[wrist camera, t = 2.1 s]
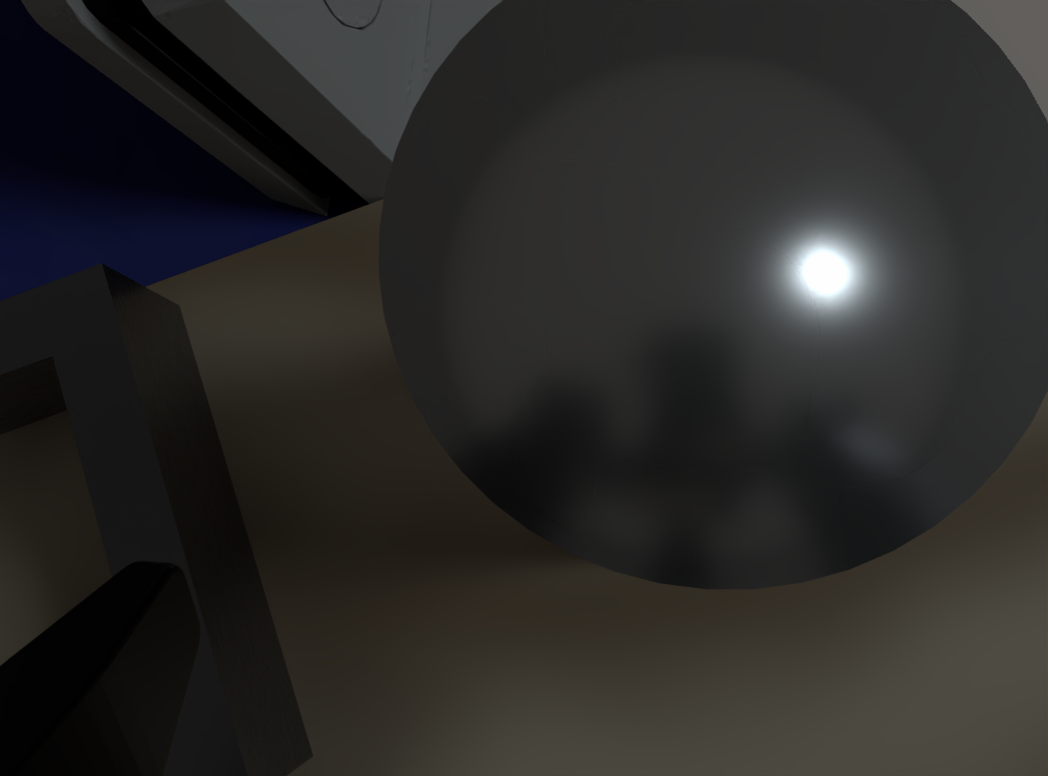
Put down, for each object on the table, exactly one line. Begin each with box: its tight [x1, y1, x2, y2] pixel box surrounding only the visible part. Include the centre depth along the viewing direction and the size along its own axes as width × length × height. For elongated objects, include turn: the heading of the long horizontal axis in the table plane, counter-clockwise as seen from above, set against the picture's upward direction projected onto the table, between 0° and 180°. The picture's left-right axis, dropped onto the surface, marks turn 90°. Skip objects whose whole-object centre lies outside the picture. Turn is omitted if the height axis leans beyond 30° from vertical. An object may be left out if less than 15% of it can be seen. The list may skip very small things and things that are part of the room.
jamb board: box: [0, 199, 1048, 776], centre depth 19 cm, size 16×26×1 cm, turn 109°
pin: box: [379, 0, 1048, 589], centre depth 12 cm, size 4×4×12 cm
